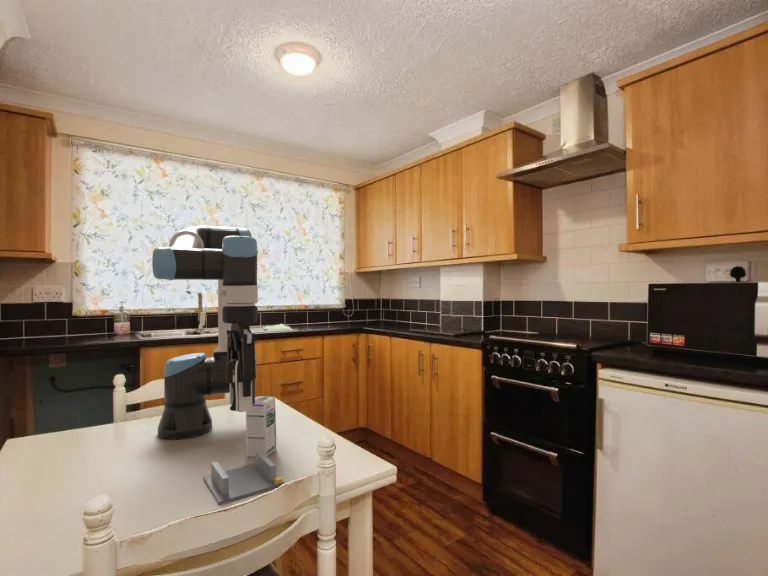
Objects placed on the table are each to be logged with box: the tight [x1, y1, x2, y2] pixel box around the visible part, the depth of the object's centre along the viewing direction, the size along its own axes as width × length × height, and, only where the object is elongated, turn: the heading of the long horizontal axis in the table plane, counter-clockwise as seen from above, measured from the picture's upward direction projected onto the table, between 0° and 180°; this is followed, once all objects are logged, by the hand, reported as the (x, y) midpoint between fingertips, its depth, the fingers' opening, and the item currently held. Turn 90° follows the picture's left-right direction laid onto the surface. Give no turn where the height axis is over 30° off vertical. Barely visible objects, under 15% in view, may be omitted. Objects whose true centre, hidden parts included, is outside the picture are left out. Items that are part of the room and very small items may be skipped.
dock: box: [202, 451, 286, 505], centre depth 93 cm, size 14×14×4 cm
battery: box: [226, 358, 256, 412], centre depth 93 cm, size 7×4×11 cm, turn 169°
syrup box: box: [245, 395, 277, 458], centre depth 110 cm, size 6×6×14 cm
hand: (240, 406), depth 93 cm, fingers closed on battery, 7 cm apart
